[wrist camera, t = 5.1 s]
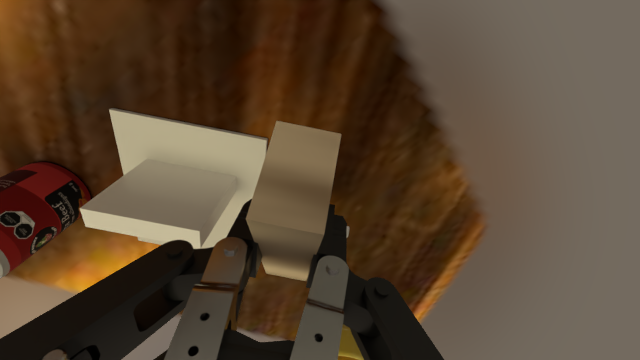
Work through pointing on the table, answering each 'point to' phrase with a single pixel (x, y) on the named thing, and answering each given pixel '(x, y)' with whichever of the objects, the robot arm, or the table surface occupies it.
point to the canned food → (36, 209)
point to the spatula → (293, 198)
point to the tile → (162, 203)
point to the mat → (192, 156)
